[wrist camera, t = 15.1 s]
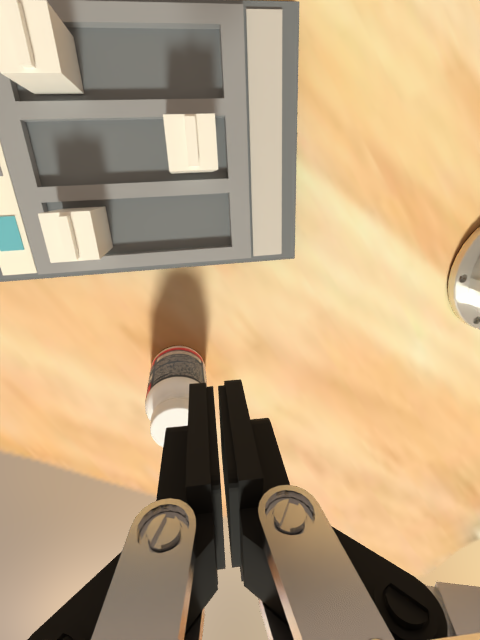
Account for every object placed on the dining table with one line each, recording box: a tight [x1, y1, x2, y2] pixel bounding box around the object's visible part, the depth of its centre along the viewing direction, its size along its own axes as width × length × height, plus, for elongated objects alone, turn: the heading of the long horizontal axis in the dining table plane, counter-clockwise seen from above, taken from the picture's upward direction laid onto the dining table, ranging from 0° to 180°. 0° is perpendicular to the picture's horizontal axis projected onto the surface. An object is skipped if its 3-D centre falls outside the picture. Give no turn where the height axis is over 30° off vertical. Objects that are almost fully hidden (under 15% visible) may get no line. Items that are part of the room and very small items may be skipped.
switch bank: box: [0, 0, 299, 282], centre depth 24 cm, size 24×17×3 cm
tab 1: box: [0, 0, 84, 95], centre depth 19 cm, size 3×3×5 cm
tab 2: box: [38, 206, 113, 263], centre depth 23 cm, size 3×3×5 cm
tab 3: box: [163, 113, 218, 174], centre depth 22 cm, size 3×3×5 cm
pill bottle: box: [145, 346, 207, 447], centre depth 29 cm, size 5×5×9 cm
